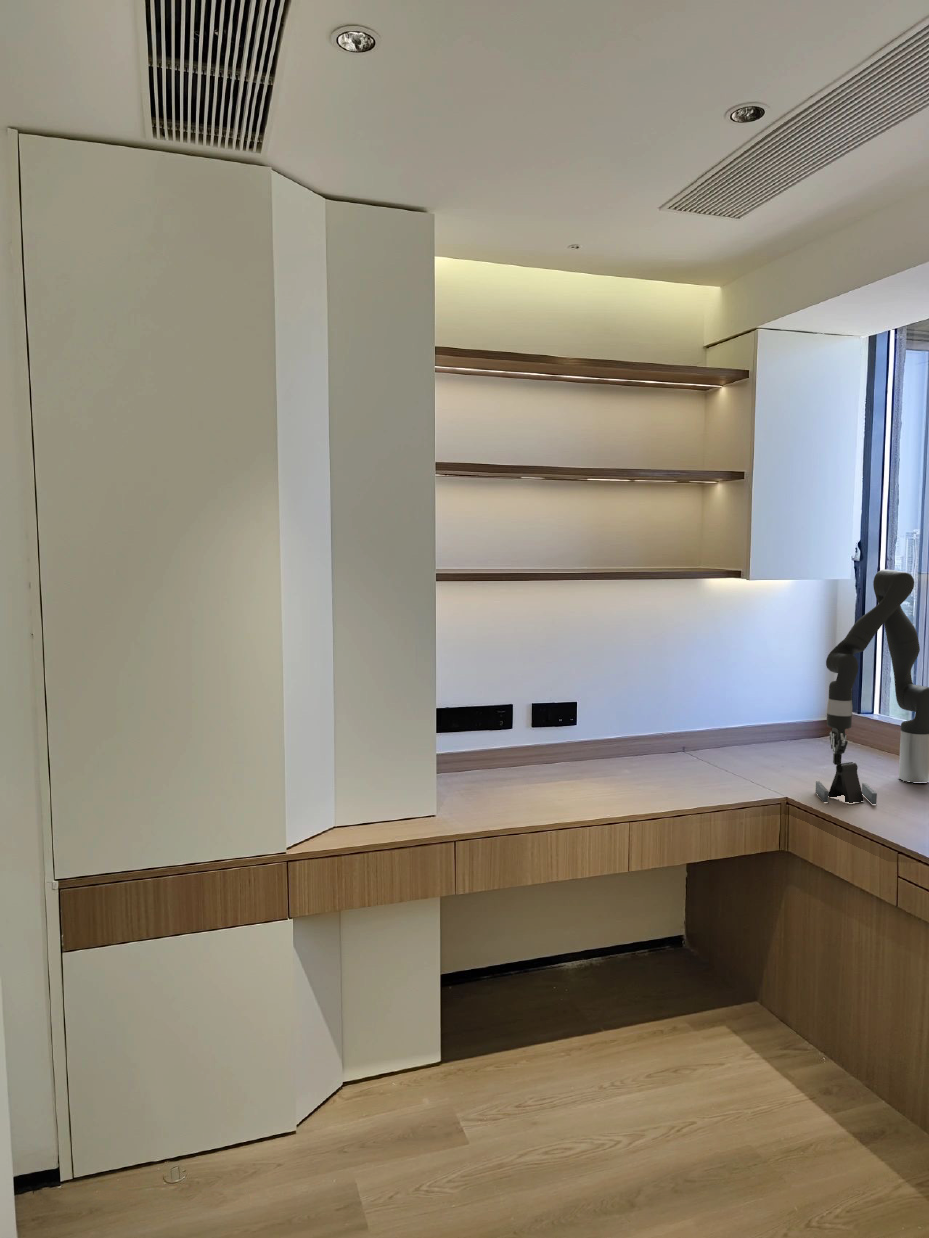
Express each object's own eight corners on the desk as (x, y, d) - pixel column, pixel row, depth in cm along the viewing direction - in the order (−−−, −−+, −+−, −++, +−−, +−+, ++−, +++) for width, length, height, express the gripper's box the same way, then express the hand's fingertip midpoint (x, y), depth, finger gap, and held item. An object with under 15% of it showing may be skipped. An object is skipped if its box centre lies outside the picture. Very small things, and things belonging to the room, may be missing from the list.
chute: (815, 793, 270) (815, 781, 270) (865, 795, 267) (866, 783, 267) (824, 803, 259) (824, 791, 259) (876, 805, 257) (876, 793, 256)
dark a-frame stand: (864, 802, 260) (865, 765, 259) (849, 805, 258) (851, 767, 256) (841, 794, 268) (842, 758, 267) (827, 797, 266) (828, 760, 265)
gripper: (857, 717, 264) (855, 770, 265) (845, 709, 277) (843, 759, 278) (832, 716, 265) (830, 768, 267) (822, 708, 278) (819, 758, 280)
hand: (836, 764), depth 272 cm, fingers closed
